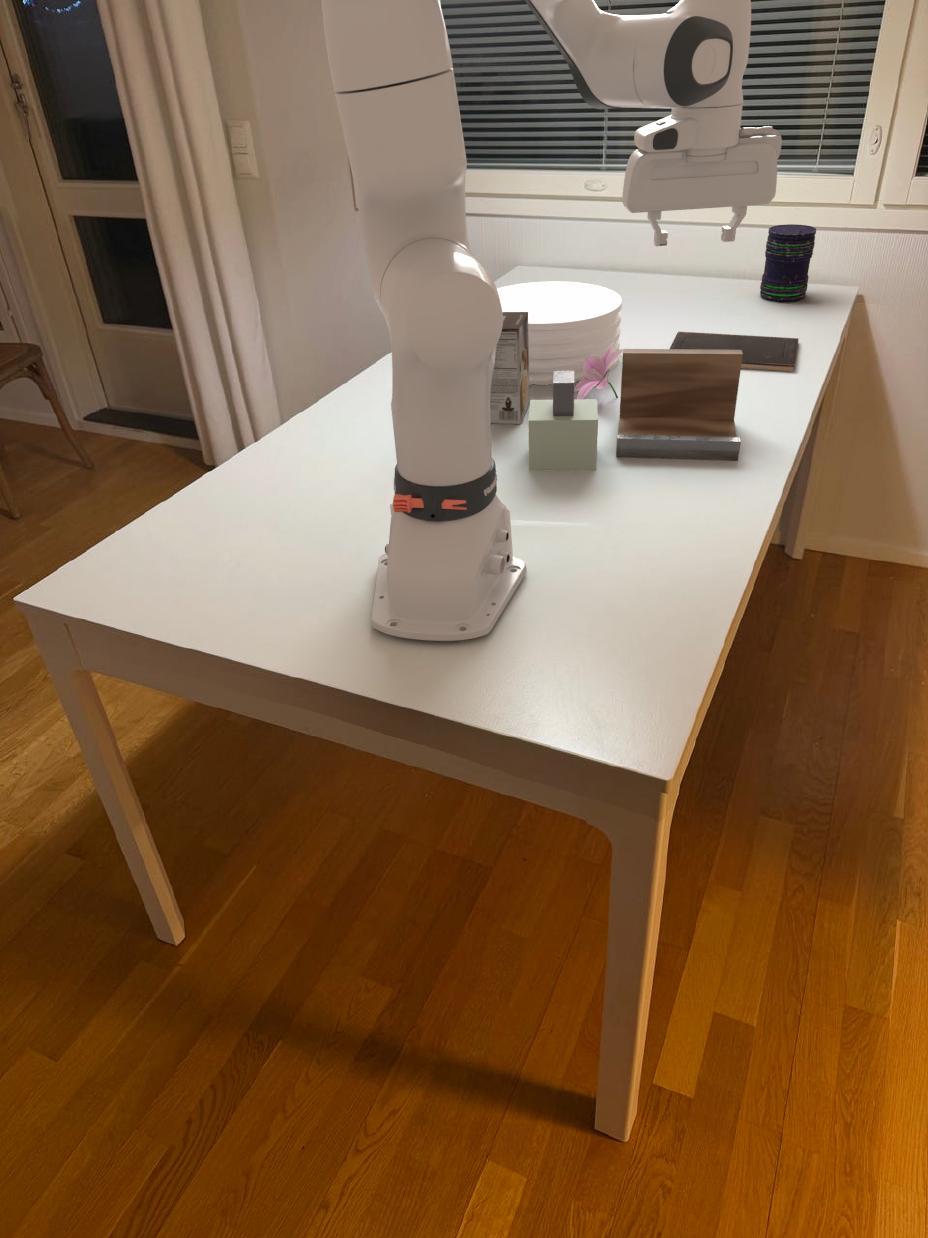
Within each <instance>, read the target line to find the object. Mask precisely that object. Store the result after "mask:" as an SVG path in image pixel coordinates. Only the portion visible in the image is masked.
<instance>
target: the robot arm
mask: <svg viewBox="0 0 928 1238" xmlns="http://www.w3.org/2000/svg"><path fill="white" fill-rule="evenodd" d="M524 1H525V2H526V4H527V6H528V7H529V9H530V10H531V12H532V13H533V15H534V16H535V18H536V19H537V21H538V22H539V24H540V25H541V27H542V28H543V29H544V31H545V32H546V34H547V35H548V37H549V38H550V39H551V41H552V43H553V44H554V45H555V48H557V50H558V51H559V52H560V53H561V55H562V57H563V58H564V60H565V62H566V64H567V66H568V68H569V70H570V73H571V76H572V78H573V81H574V84H575V86H576V89H577V91H578V93H579V95H580V96H581V98H582V99H583V101H584V102H585V103H586V104H587V105H588V106H589V107H592V108H593V109H597V110H609V109H620V108H621V109H622V108H633V109H635V108H637V109H638V108H639V109H671V112H670V113H671V114H670V115H668V116H666V117H663V118H661V119H658V120H656V121H654V122H651V123H648V124H646V125H644V126H641V127H638V129H636V131H635V132H634V135H633V136H634V138H633V139H634V141H633V143H634V145H635V146H636V147H637V149H635V150H633V152H632V153H631V155H630V156H629V159H628V160H627V163H626V168H625V174H624V180H623V181H624V182H623V186H622V187H623V188H622V198H621V199H622V204H623V206H624V207H625V209H626V210H627V211H629V212H630V213H631V214H637V213H647V220H648V221H649V224H650V226H651V228H652V230H653V232H654V235H653V245H654V247H663V246H664V247H666V246H668V238H669V237H668V236H669V234H668V231H667V230H666V229H663V230H662V229H661V227H660V225H659V222H658V221H660V220H661V219H662V212H666V211H667V212H669V211H671V212H672V211H684V210H685V211H687V210H702V209H717V208H718V209H719V208H731V212H732V213H733V214H734V215H733V216H732V218H731V219H730V221H729V223H728V224H727V225H723V226H721V235H720V240H721V241H722V242H723V243H728V242H732V243H733V242H735V240H736V235H737V229H738V227H739V226H740V224H741V223H742V222H743V220H745V219H744V218H745V217H746V216H747V211H748V206H749V207H750V206H764V205H765V206H766V205H767V206H768V205H769V204H770V203H772V201H773V200H774V199H775V197H776V191H777V183H778V181H777V179H778V159H779V157H780V155H781V151H782V143H783V142H782V141H783V140H782V135H781V134H780V132H779V131H777V130H776V129H774V128H773V126H769V125H768V126H766V125H765V126H762V127H751V126H750V127H741V122H742V114H743V113H742V112H743V105H744V94H743V86H742V83H743V79H744V78H743V76H744V74H745V72H746V68H747V66H748V61H749V55H750V54H749V53H750V44H751V43H750V42H751V32H752V31H751V28H752V2H751V1H752V0H679V2H678V3H677V4H675V6H673V7H672V8H670V9H668V10H667V11H666V13H661V14H660V13H659V14H640V15H620V14H613V13H610V12H606V11H604V10H601V9H600V7H598V5H597V3H596V2H595V0H524ZM320 2H321V10H322V11H321V12H322V21H323V22H322V23H323V32H324V39H325V49H326V54H327V62H328V67H329V72H330V77H331V82H332V88H333V91H334V97H335V102H336V106H337V110H338V111H337V112H338V116H339V120H340V124H341V129H342V134H343V137H344V139H343V140H344V144H345V147H346V152H347V156H348V157H347V158H348V161H349V165H350V169H351V174H352V179H353V184H354V190H355V195H356V202H357V209H358V215H359V216H358V217H359V222H360V227H361V229H360V230H361V235H362V239H363V245H364V251H365V257H366V261H367V267H368V272H369V279H370V283H371V288H372V292H373V296H374V299H375V302H376V305H377V306H378V308H379V309H380V311H381V313H382V315H383V317H384V319H385V321H386V325H387V328H388V331H389V332H388V333H389V337H390V344H391V345H390V346H391V362H392V364H391V366H392V371H391V372H392V374H391V375H392V383H391V384H392V388H391V390H392V393H391V394H392V395H391V402H390V409H391V417H392V420H391V421H392V428H393V429H392V430H393V438H394V445H395V446H394V448H395V457H396V465H395V467H394V478H393V492H394V495H393V497H392V498H393V500H392V503H391V504H389V509H390V515H391V517H390V526H389V535H388V537H389V538H388V543H386V544H385V546H384V554H381V555H380V556H379V557H378V565H377V569H376V570H377V571H376V578H375V579H376V580H375V585H374V586H375V587H374V596H373V602H372V610H371V620H370V621H371V627H372V628H373V629H376V630H377V631H378V632H381V633H384V634H386V635H390V636H394V637H398V638H404V639H411V640H420V641H421V640H422V641H434V642H435V641H439V642H445V641H446V642H449V641H450V642H451V641H452V642H453V641H465V640H471V639H476V638H480V637H483V636H486V635H488V634H489V633H490V632H491V631H492V629H493V628H494V626H495V624H496V622H497V621H498V619H499V618H500V616H501V614H502V613H503V612H504V610H505V608H506V607H507V605H508V603H509V601H511V598H512V597H513V595H514V594H515V592H516V590H517V588H518V587H519V586H520V584H521V582H522V580H523V579H524V577H525V576H526V573H527V572H528V571H527V569H528V568H527V564H526V562H525V561H524V560H523V559H521V558H518V557H516V556H514V553H513V537H512V523H511V513H510V512H511V511H510V509H509V508H508V507H507V506H506V505H505V504H504V503H503V502H502V500H500V498H499V497H498V495H497V490H498V489H497V488H498V486H497V482H498V472H497V469H496V468H497V466H496V461H495V459H494V458H493V457H492V454H493V453H492V429H491V428H492V426H491V424H492V423H490V393H491V384H492V377H493V370H494V364H495V355H496V346H497V343H498V341H499V338H500V335H501V332H502V326H503V313H502V306H501V301H500V297H499V294H498V291H497V288H498V287H497V286H496V283H495V281H494V279H493V277H492V275H491V273H489V271H488V270H487V269H486V267H485V266H484V265H482V264H481V262H480V261H478V260H477V259H476V258H475V257H474V255H473V253H472V251H471V248H470V244H469V239H468V230H467V229H468V228H467V215H466V214H467V212H466V173H467V165H468V161H467V155H466V146H465V138H464V133H463V126H462V121H461V120H462V118H461V112H460V107H459V106H460V105H459V100H458V98H459V97H458V91H457V85H456V79H455V72H454V71H455V70H454V68H453V67H454V63H453V60H452V59H453V58H452V54H451V46H450V41H449V37H448V33H447V32H448V31H447V27H446V22H445V19H444V14H443V11H442V7H441V6H442V5H441V2H442V1H441V0H321V1H320Z"/></svg>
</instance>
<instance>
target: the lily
mask: <svg viewBox="0 0 928 1238" xmlns="http://www.w3.org/2000/svg"><path fill="white" fill-rule="evenodd" d="M613 345H614V341H613V342H612V343H611V344H610V345H609V346H608V347H607V349H606V350H605V351H604V353H603V354H602V356H601V357H600V356H598V355H595V354H589V355H587V356H586V357H585V359H584V362H583V373H584V375H585V377H584V378H583V379H581V381H578V383H577V384H576V385H575V386H574V393H575V392H577V391H578V393H577V395H576V399H585V397H586V395H587V394H589V392H590V391H591V390H592V389H593V388H594V389H598V390H606V389H607V386H608V385H609V386H610V388H611V389H612V392H613V394H614V396H615V397H616V398H617V399H618V398H619V397H618V394H617V392H616V390H615V388H614V386H613V385H612V384H611V382H610V381H609V371H610V370H609V367H610V365H611V364H612V363H613V362H614V361H615V360H616V359H617V358H618V357H619V358H620V356H621V354H623V349H619V350H616V351H613V352H611V351H612V348H613ZM608 370H609V371H608Z"/></svg>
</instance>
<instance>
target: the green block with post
mask: <svg viewBox="0 0 928 1238" xmlns="http://www.w3.org/2000/svg"><path fill="white" fill-rule="evenodd" d="M574 388H575V382H574V371H554V375H553V384H552V399H529V412H528V413H529V414H528V470H529V472H530V471H597V464H598V463H597V461H598V460H597V459H598V458H597V457H598V434H599V433H598V431H599V428H598V427H599V413H598V411H599V410H598V399H596V398H583V399H577V398H576V399H575V392H574Z"/></svg>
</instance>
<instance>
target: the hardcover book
mask: <svg viewBox="0 0 928 1238" xmlns="http://www.w3.org/2000/svg"><path fill="white" fill-rule="evenodd" d="M799 340H800V339H799V338H797V337H781V336H765V335H764V336H763V335H748V334H747V335H746V334H744V335H743V334H730V333H729V334H727V333H713V332H711V333H710V332H695V331H694V332H693V331H690V332H689V331H677V333H676V335H675V337H674V339H673V341H672V343H671V345H670V347H669V349H702V350H742V353H743V356H742V363H741V369H750V370H751V369H752V370H753V369H754V370H770V371H783V372H793V371H794V368H795V365H796V359H797V352H798V345H799Z"/></svg>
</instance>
